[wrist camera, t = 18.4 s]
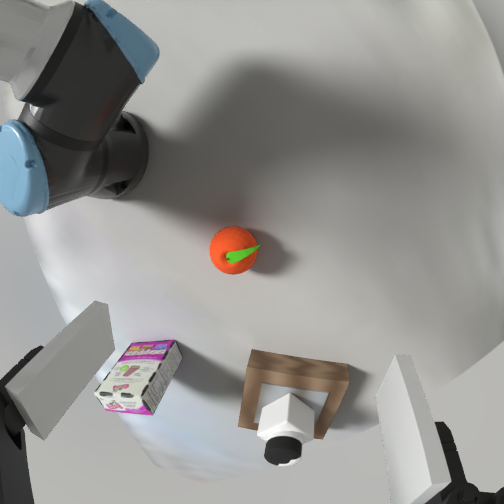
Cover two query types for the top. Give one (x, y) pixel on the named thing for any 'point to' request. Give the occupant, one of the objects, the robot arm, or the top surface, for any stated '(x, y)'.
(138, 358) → the candy bar box
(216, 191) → the top surface
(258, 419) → the walnut base
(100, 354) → the robot arm
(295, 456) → the medicine bottle
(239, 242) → the clementine
